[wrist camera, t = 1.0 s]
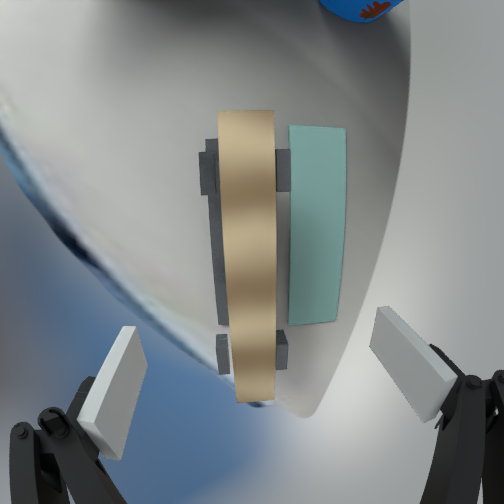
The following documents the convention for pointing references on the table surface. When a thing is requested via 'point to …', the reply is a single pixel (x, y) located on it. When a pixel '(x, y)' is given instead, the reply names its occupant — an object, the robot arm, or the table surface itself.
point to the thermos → (359, 8)
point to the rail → (250, 246)
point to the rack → (212, 189)
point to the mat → (316, 222)
